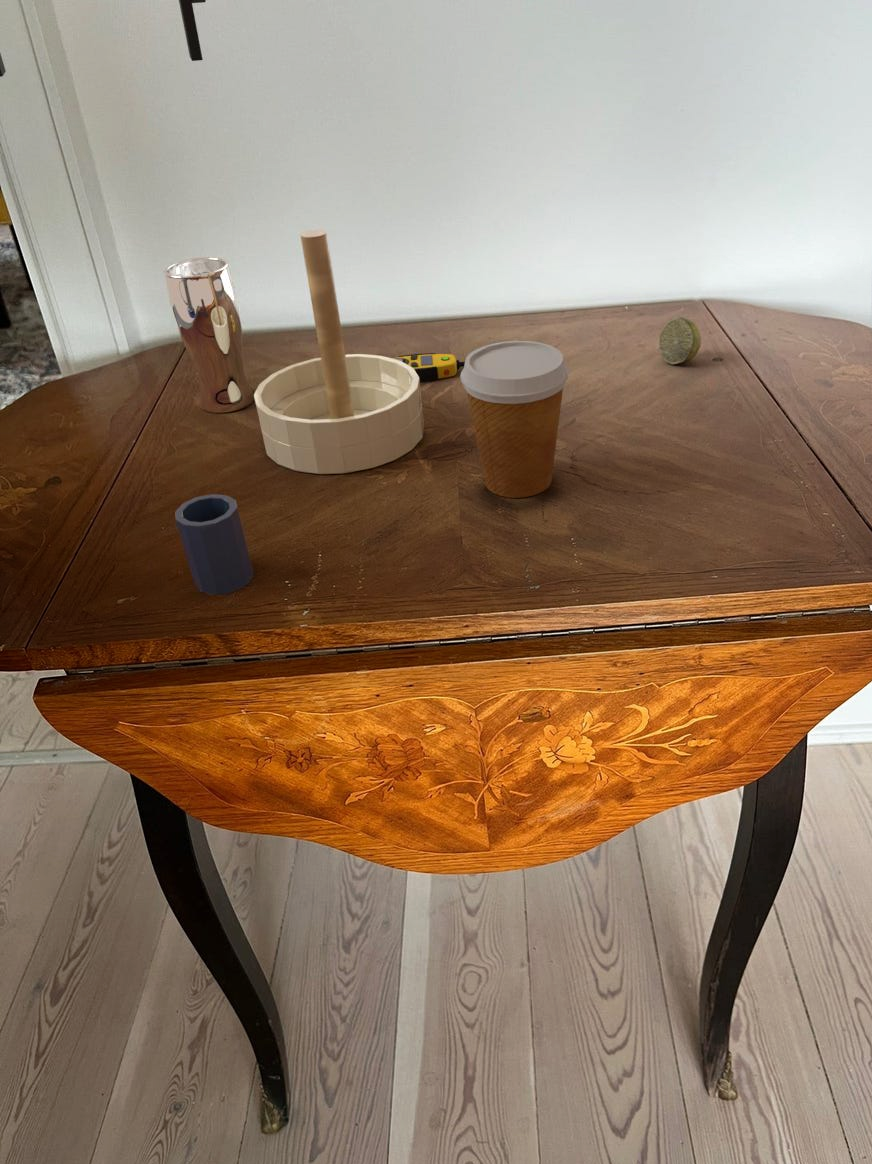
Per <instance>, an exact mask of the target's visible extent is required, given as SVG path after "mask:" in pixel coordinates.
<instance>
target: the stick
mask: <svg viewBox="0 0 872 1164" xmlns="http://www.w3.org/2000/svg"><path fill="white" fill-rule="evenodd" d="M299 237H300V242H301V246H302V252H303V253H302V254H303V259H304V266H305V272H306V277H307V283H308V289H309V295H310V302H311V306H312V313H313V319H314V324H315V325H314V326H315V331H316V337H317V343H318V350H319V356H320V358H321V362H322V368H323V374H324V380H325V386H326V392H327V398H328V404H329V410H330V416H331V419H340V418H345V417H351V416H354V410H353V403H352V397H351V390H350V383H349V377H348V370H347V363H346V357H345V355H346V351H345V345H344V336H343V331H342V324H341V318H340V317H341V316H340V311H339V305H338V303H339V302H338V297H337V290H336V284H335V283H336V282H335V277H334V270H333V265H332V264H333V263H332V256H331V250H330V245H329V243H330V242H329V238H328V231H327V230H324V229H309V230H305V231H303V232H301V233H300V235H299Z"/></svg>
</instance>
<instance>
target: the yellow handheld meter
mask: <svg viewBox="0 0 872 1164" xmlns="http://www.w3.org/2000/svg"><path fill="white" fill-rule="evenodd" d="M392 359H396V360H400V361H402V362H404V363H405V364H407V365H409V366H410V367H412V368H414V370H415V372H416V373H417V375H418V377H419V379H420V383H423V382H433V381H438V380H439V379H445V378H450V377H454V376H456V375H457V373H458V370H460V369H461V368H464V365H465V361H460V360H459V359H457V358H456V355H454V354H452V353H451V354H450V353H435V352H428V353H412V354H404V355H399V356H396V357H392Z"/></svg>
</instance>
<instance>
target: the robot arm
mask: <svg viewBox="0 0 872 1164" xmlns="http://www.w3.org/2000/svg"><path fill="white" fill-rule="evenodd" d="M206 2H207V0H178V3H179V9H180V12H181V19H182V23H183V24H182V25H183V30H184V35H185V39H186V45H187V50H188V55H189V58H190V60H191V61H192V62H196V61H197V62H198V61H204V59H203V55H202V49H201V44H200V38H199V33H198V28H197V27H198V26H197V22H196V17H195V16H196V15H195V12H194V6H193V4H202V3H206ZM6 71H7V70H6V67H5V64H4V60H3V56H2V54H1V53H0V78H1V77H4V76H5V73H6Z"/></svg>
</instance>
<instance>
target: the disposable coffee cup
mask: <svg viewBox="0 0 872 1164" xmlns="http://www.w3.org/2000/svg"><path fill="white" fill-rule="evenodd" d="M464 362H465V365H464V367H463V369H462V370H461V372H460V382H461V384H462V385H463V387H464V390H465V392H467V398H468V403H469V409H470V413H471V418H472V423H473V427H474V433H475V438H476V443H477V447H478V453H479V458H480V463H481V468H482V474H483V479H484V485H485V486H486V488H487V489H488V491H490V492H491V493H492V494H495V495H497V496H501V497H505V498H512V499H513V498H515V499H517V498H528V497H532V496H535V495H538V494H541V493H542V492H544V491H546V490H547V489H548V488H550V486H551V484H552V480H553V479H552V478H553V470H554V462H555V453H556V447H557V440H558V439H557V438H558V430H559V424H560V423H559V422H560V416H561V407H562V402H563V401H562V400H563V392H564V391H563V390H564V388H565V386H566V382H567V381H568V379H569V374H570V370H569V367H568V366H567V364H566V362H565V358H564V355H563V353H562V352H561V351H560V349H558V348H556V347H555V346H553V345H550V344H547V343H544V342H538V341H531V340H509V341H508V340H507V341H506V340H505V341H500V342H495V343H491V344H488V345H484V346H483V345H482V346H481V347H478V348H476V349H475V350H473V351H471V352H470V353H468V355H467V356H466V358H465V360H464Z"/></svg>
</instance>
